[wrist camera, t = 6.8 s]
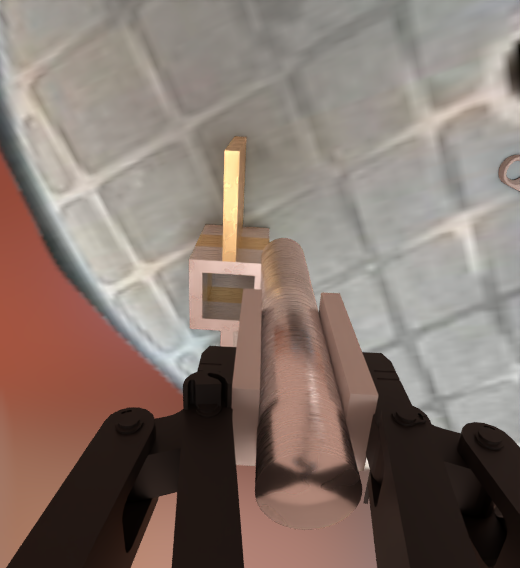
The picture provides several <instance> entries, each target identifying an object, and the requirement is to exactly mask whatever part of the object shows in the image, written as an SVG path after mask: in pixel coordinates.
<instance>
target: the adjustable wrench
mask: <svg viewBox="0 0 520 568" xmlns="http://www.w3.org/2000/svg"><path fill="white" fill-rule="evenodd" d="M514 161H520V155H513V156H510V157H508V158H507V159H505V160H504V162H503V163H502V164H501V166H500V168H499V178H500V180H501V181H502V182H503V183H504V184H506V185H508V186H510V187H512V188H514V189H516V190H518V191H520V178H518V179H517V180H510V179H508V178H507V176H506V173H507V169H508V167H509V166H510V165H511V164H512V163H513V162H514Z"/></svg>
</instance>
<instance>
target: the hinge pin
mask: <svg viewBox="0 0 520 568" xmlns="http://www.w3.org/2000/svg"><path fill="white" fill-rule="evenodd" d="M260 289H261V290H262V311H261V368H260V400H259V416H258V424H257V439H256V478H255V496H256V501H257V503H258V505H259V507H260V509H261V510H262V511H263V512H264V514H265V515H266V516H267V517H269V518H270V519H271V520H273V521H274V522H276V523H278V524H281V525H283V526H286V527H289V528H294V529H302V530H312V529H319V528H325V527H328V526H331V525H334V524H336V523H338V522H340V521H342V520H343V519H345V518H347V517H348V516H349V515H350V514H351V513H352V512H353V511H354V510H355V509H356V507H357V505H358V504H359V502H360V499H361V495H362V484H361V480H360V476H359V472H358V468H357V464H356V460H355V456H354V452H353V448H352V444H351V440H350V436H349V432H348V428H347V424H346V420H345V416H344V412H343V408H342V404H341V400H340V396H339V392H338V388H337V384H336V380H335V376H334V372H333V368H332V364H331V360H330V356H329V352H328V348H327V344H326V340H325V336H324V332H323V328H322V324H321V320H320V316H319V312H318V308H317V304H316V300H315V296H314V292H313V288H312V284H311V280H310V276H309V272H308V268H307V264H306V260H305V256H304V252H303V249H302V248H301V246H300V245H299V244H298V243H297V242H295V241H293V240H291V239H288V238H279V239H275V240H273V241H271V242H270V243H268V244H267V245H266V247H265V248H264V250H263V252H262V255H261V284H260Z"/></svg>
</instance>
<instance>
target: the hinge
mask: <svg viewBox="0 0 520 568" xmlns="http://www.w3.org/2000/svg"><path fill="white" fill-rule="evenodd" d="M245 162H246V137H239V136H235V137H234V138H233V140H232V141H231V142H230V144H229V145H228V147H227V148H226V149H225V157H224V205H223V225H211V224H205V226H204V229H203V231H202V233H201V235H200V237H199V239H198V241H197V243H196V245H195V248H194V250H193V252H192V254H191V256H190V258H189V301H190V329H205V330H221V346H223V347H237V339H238V331H239V322H240V313H241V305H242V296H243V289H260V284H261V255H262V252H263V250H264V248H265V247H266V245H267V244H268V243H269V228H260V227H243V210H244V186H245ZM216 273H219V274H216ZM229 274H236V275H229ZM246 275H252V276H246Z"/></svg>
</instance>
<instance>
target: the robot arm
mask: <svg viewBox="0 0 520 568" xmlns="http://www.w3.org/2000/svg"><path fill="white" fill-rule="evenodd" d="M261 311H262V290H261V289H243V296H242V305H241V313H240V322H239V331H238V339H237V347H223V346H209V347H208V348H207V349H206V350H205V351H204V352H203V353H202V355H201V359H200V363H199V367H198V372H196V373H193V374H191V375H190V376H189V377H187V378H186V379H185V381H184V384H183V406H184V409H183V410H181V411H180V412H178V413H176V414H174V415H171V416H167V417H162V418H156V419H154V417H153V414H152V413H150V412H149V411H148V410H146V409H142V408H126V409H122V410H119V411H117V412H115V413H113V414H111V415H110V416H109V417H108V418H107V419H106V420H105V421H104V423H103V424H102V426H101V427H100V429H99V430H98V432H97V434H96V435H95V437H94V438H93V439H92V441H91V442H90V444H89V445H88V447H87V448H86V450H85V451H84V453H83V454H82V456H81V457H80V459H79V460H78V462H77V463H76V465H75V466H74V468H73V469H72V471H71V472H70V474H69V475H68V476H67V478H66V479H65V481H64V482H63V484H62V486H61V487H60V489H59V490H58V491H57V493H56V494H55V496H54V497H53V499H52V500H51V502H50V503H49V505H48V506H47V508H46V509H45V511H44V512H43V514H42V515H41V517H40V518H39V520H38V521H37V523H36V524H35V526H34V527H33V529H32V530H31V532H30V533H29V535H28V536H27V537H26V539H25V540H24V542H23V543H22V545H21V546H20V548H19V549H18V551H17V552H16V554H15V555H14V557H13V559H12V560H11V562H10V563H9V564H8V566H7V567H6V568H131V565H132V563H133V560H134V558H135V555H136V553H137V550H138V548H139V545H140V543H141V541H142V538H143V536H144V533H145V531H146V528H147V526H148V523H149V521H150V518H151V516H152V513H153V511H154V509H155V506H156V503H157V501H158V497H159V496H163V495H167V494H171V493H175V492H177V504H176V518H175V531H174V544H173V558H172V568H244V563H243V562H244V561H243V549H242V535H241V522H240V510H239V498H238V484H237V473H236V472H237V471H236V465H249V466H250V465H251V466H255V465H256V439H257V424H258V416H259V400H260V368H261ZM319 316H320V320H321V324H322V328H323V332H324V336H325V340H326V344H327V348H328V352H329V356H330V360H331V364H332V368H333V372H334V376H335V380H336V384H337V388H338V392H339V396H340V400H341V404H342V408H343V412H344V416H345V420H346V424H347V428H348V432H349V436H350V440H351V444H352V448H353V452H354V456H355V460H356V464H357V468H358V471H364V467H365V462H366V457H367V460H368V463H369V467H370V472H369V477H368V482H367V487H366V492H365V497H364V503H367V504H368V499H369V501H370V509H371V518H372V526H373V535H374V544H375V553H376V561H377V568H520V447H519V446H518V445H517V444H516V443H515V442H514V440H513V439H512V438H511V437H509V436H508V435H507V434H506V433H505V432H504V431H502V430H500V429H498V428H496V427H494V426H491V425H488V424H485V423H478V422H473V423H468V424H466V425H465V426H464V427H463V428H462V431H461V433H457V432H453V431H449V430H446V429H442V428H439V427H436V426H434V425H432V424H431V422H430V420H429V418H428V417H427V415H426V414H425V413H424V412H422V411H421V410H420V409H418V408H416V407H414V406H412V404H411V402H410V400H409V398H408V396H407V394H406V392H405V390H404V388H403V385H402V383H401V381H399V377H398V375H397V373H396V371H395V369H394V367H393V365H392V362H391V361H390V360H389V359H387V358H386V357H385V356H384V355H383V354H382V353H367V352H362V351H361V348H360V345H359V343H358V340H357V338H356V335H355V332H354V330H353V327H352V324H351V322H350V319H349V317H348V314H347V311H346V309H345V306H344V303H343V301H342V298H341V296H340V293H321V299H320V307H319Z"/></svg>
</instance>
